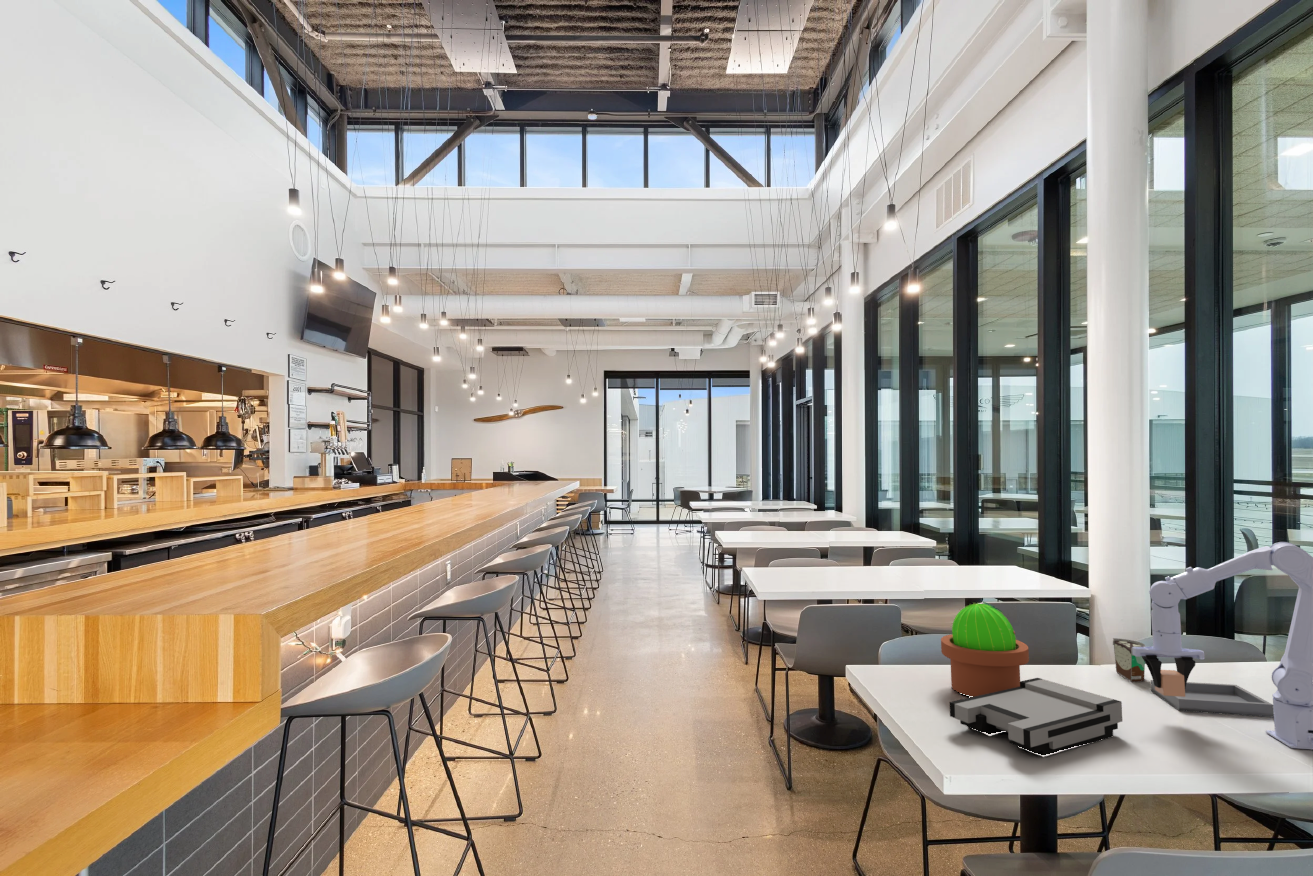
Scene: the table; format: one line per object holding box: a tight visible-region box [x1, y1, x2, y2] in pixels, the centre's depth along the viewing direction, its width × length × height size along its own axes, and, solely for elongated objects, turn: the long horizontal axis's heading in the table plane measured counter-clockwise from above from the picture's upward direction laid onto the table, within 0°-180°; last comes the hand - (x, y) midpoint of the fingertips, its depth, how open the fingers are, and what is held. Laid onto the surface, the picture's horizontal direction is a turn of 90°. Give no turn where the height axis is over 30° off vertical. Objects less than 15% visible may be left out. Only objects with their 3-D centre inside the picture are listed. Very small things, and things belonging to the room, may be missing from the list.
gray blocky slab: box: [949, 677, 1123, 755], centre depth 159 cm, size 21×32×8 cm, turn 115°
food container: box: [1112, 637, 1146, 683], centre depth 199 cm, size 12×6×10 cm, turn 168°
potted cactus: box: [940, 601, 1030, 697], centre depth 189 cm, size 22×22×25 cm
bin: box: [1150, 679, 1274, 718], centre depth 176 cm, size 16×20×3 cm
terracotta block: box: [1155, 669, 1185, 697], centre depth 165 cm, size 4×4×5 cm
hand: (1169, 687), depth 165 cm, fingers closed on terracotta block, 4 cm apart
